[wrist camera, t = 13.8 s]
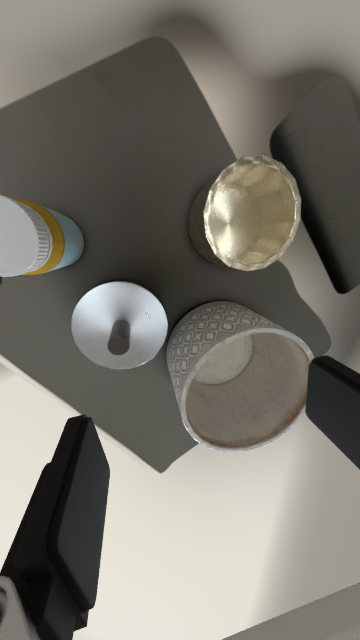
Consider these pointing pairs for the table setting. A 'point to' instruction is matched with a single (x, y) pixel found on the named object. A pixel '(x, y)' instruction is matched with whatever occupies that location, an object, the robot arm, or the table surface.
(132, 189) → the table surface
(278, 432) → the planter
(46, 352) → the table surface
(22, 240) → the bottle
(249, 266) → the pot
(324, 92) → the table surface
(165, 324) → the lid
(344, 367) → the robot arm
